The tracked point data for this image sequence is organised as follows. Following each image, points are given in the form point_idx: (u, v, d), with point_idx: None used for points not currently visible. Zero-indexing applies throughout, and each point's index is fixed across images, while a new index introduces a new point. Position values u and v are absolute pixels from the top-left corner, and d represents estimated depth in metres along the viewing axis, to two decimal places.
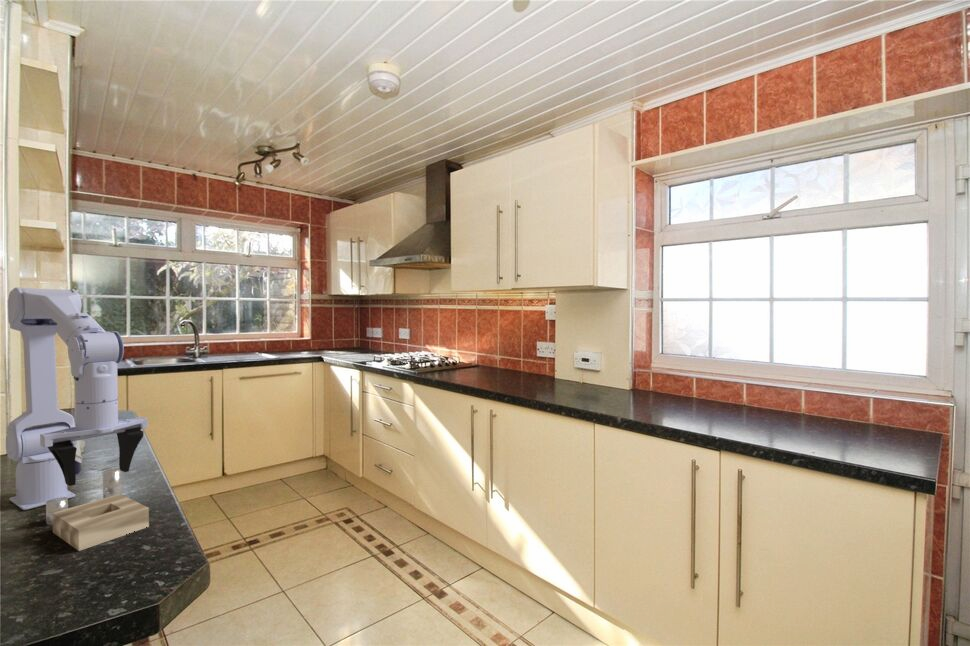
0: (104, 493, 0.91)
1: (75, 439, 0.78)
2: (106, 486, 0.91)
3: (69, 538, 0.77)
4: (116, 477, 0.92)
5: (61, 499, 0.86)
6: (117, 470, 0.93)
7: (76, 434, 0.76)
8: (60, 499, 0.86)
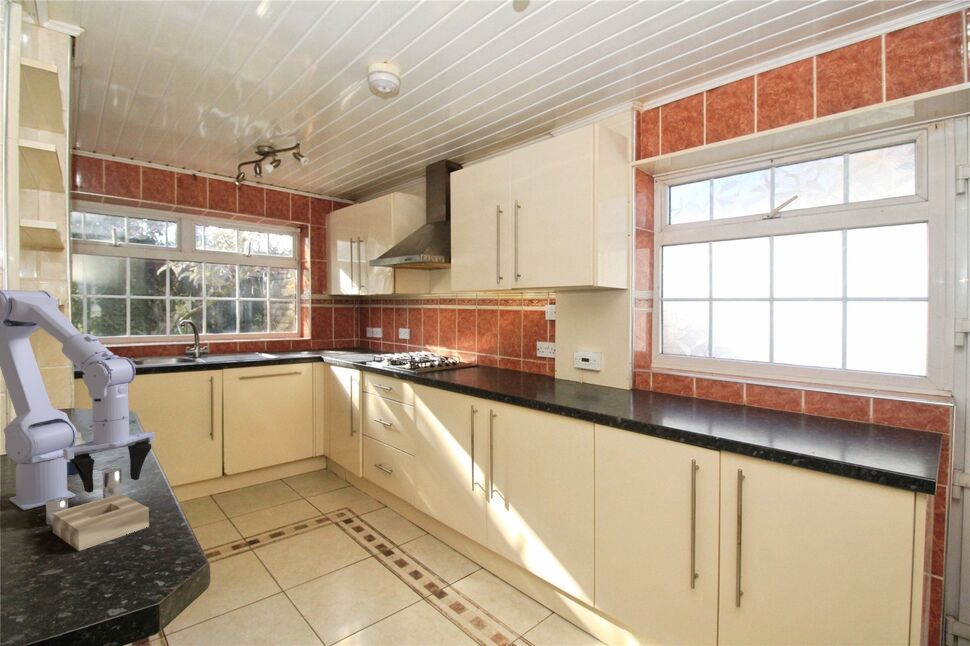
0: (104, 493, 0.91)
1: (92, 452, 0.90)
2: (106, 486, 0.91)
3: (69, 538, 0.77)
4: (116, 477, 0.92)
5: (61, 499, 0.86)
6: (117, 470, 0.93)
7: (94, 448, 0.88)
8: (60, 499, 0.86)
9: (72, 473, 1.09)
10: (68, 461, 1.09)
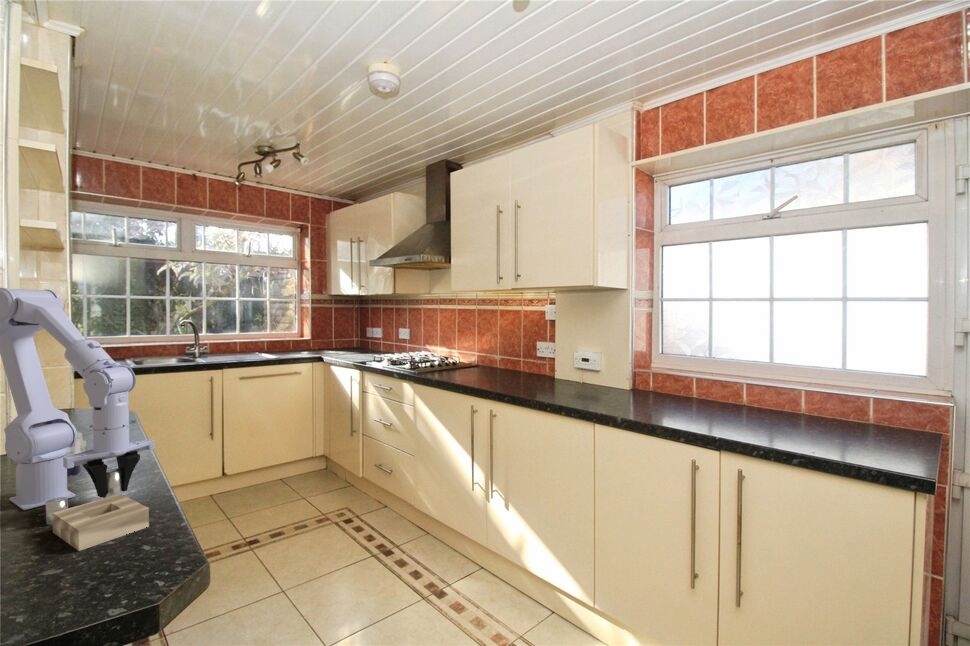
0: None
1: (92, 461, 0.90)
2: (106, 486, 0.91)
3: (69, 538, 0.77)
4: (116, 477, 0.92)
5: (61, 499, 0.86)
6: (117, 470, 0.93)
7: (94, 456, 0.88)
8: (60, 499, 0.86)
9: (72, 474, 1.09)
10: None
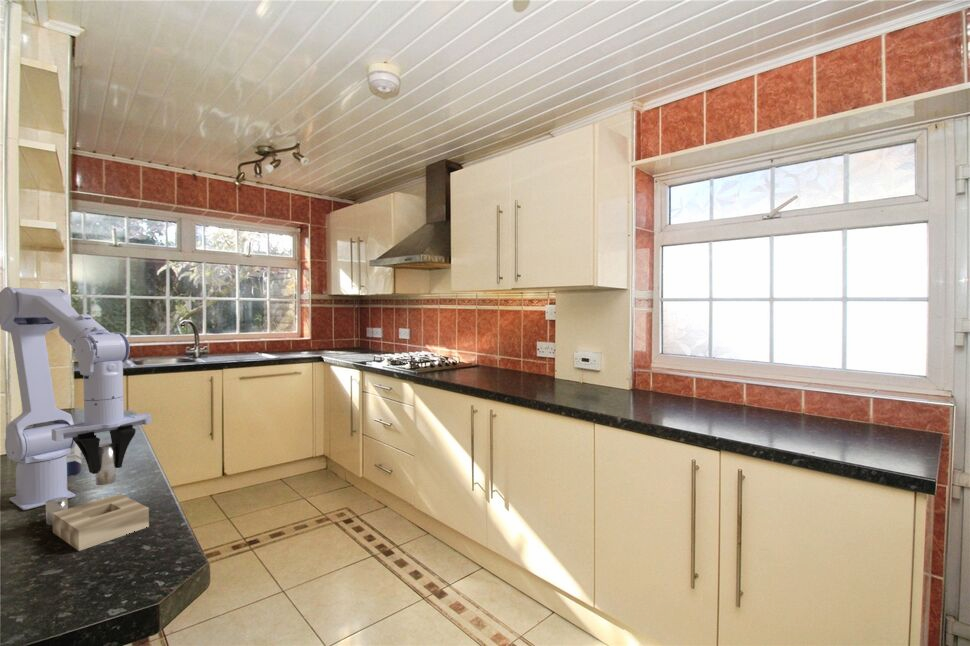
0: None
1: (83, 434, 0.83)
2: (98, 461, 0.84)
3: (69, 538, 0.77)
4: (109, 452, 0.85)
5: (61, 499, 0.86)
6: (110, 445, 0.86)
7: (85, 429, 0.82)
8: (60, 499, 0.86)
9: (73, 474, 1.09)
10: (68, 461, 1.09)
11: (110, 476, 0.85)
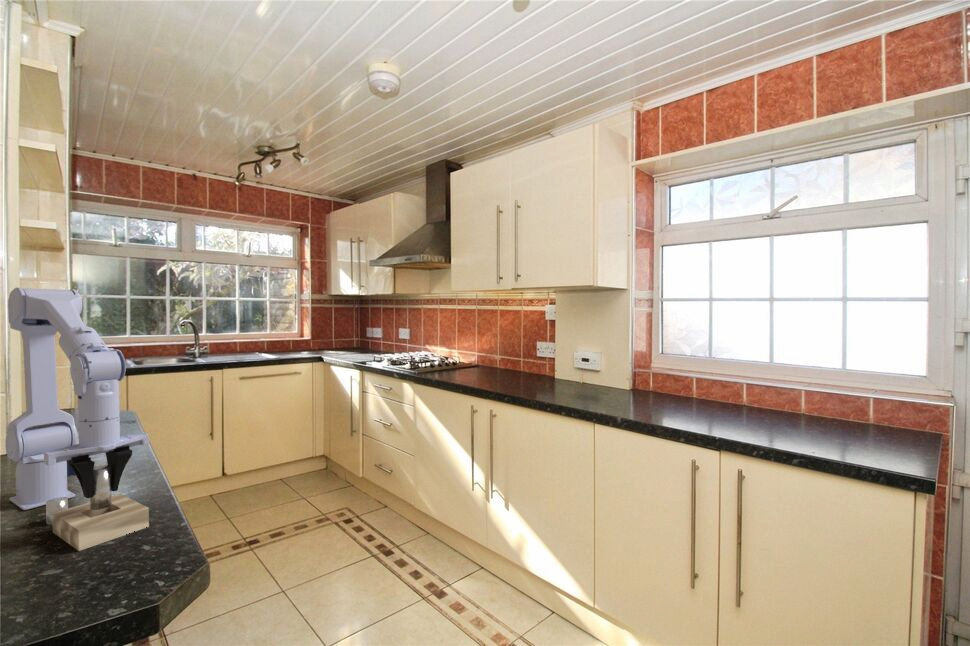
0: None
1: (77, 457, 0.79)
2: (93, 485, 0.81)
3: (69, 538, 0.77)
4: (105, 475, 0.81)
5: (61, 499, 0.86)
6: (106, 467, 0.82)
7: (79, 452, 0.78)
8: (60, 499, 0.86)
9: (72, 474, 1.09)
10: None
11: (105, 500, 0.82)
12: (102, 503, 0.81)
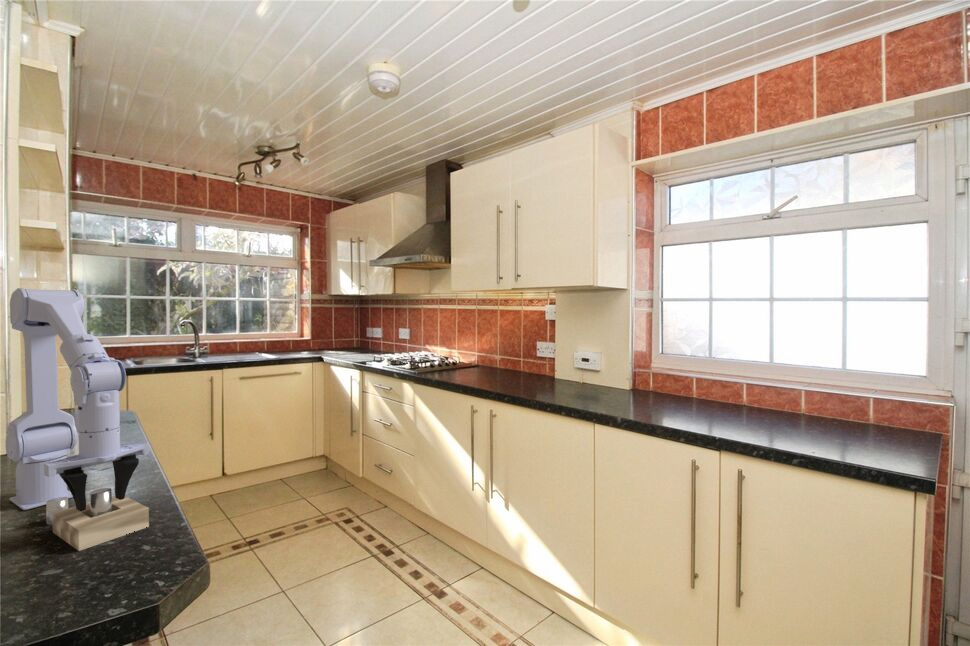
0: (91, 517, 0.81)
1: (78, 468, 0.79)
2: (93, 509, 0.81)
3: (69, 538, 0.77)
4: (105, 499, 0.82)
5: (61, 499, 0.86)
6: (106, 490, 0.82)
7: (79, 463, 0.78)
8: (60, 499, 0.86)
9: None
10: None
11: None
12: None
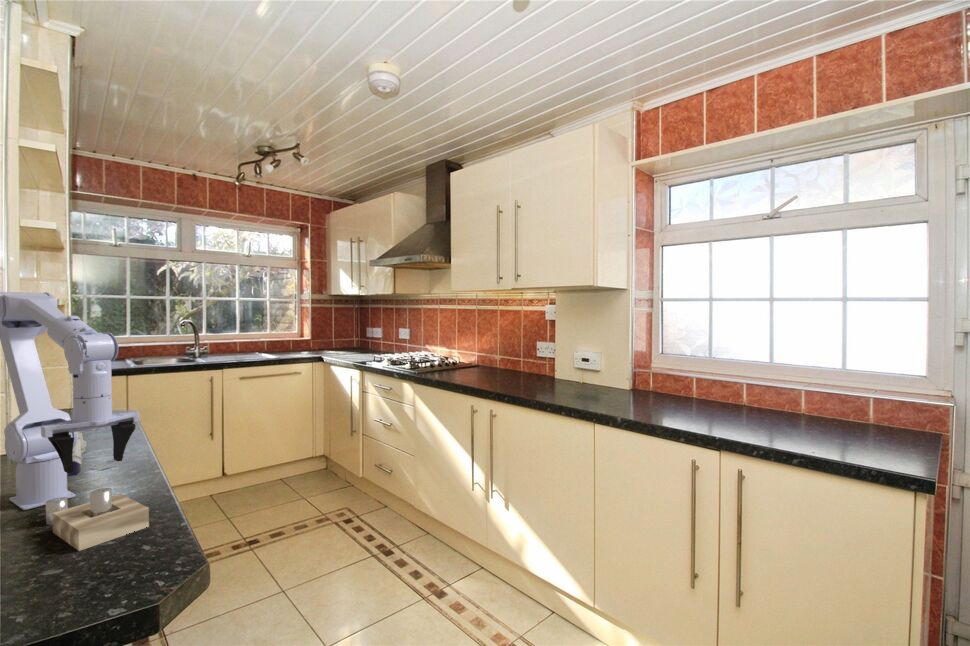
0: (91, 517, 0.81)
1: (72, 431, 0.85)
2: (93, 509, 0.81)
3: (69, 538, 0.77)
4: (105, 499, 0.82)
5: (61, 499, 0.86)
6: (106, 490, 0.82)
7: (73, 426, 0.84)
8: (60, 499, 0.86)
9: (72, 474, 1.09)
10: None
11: None
12: None
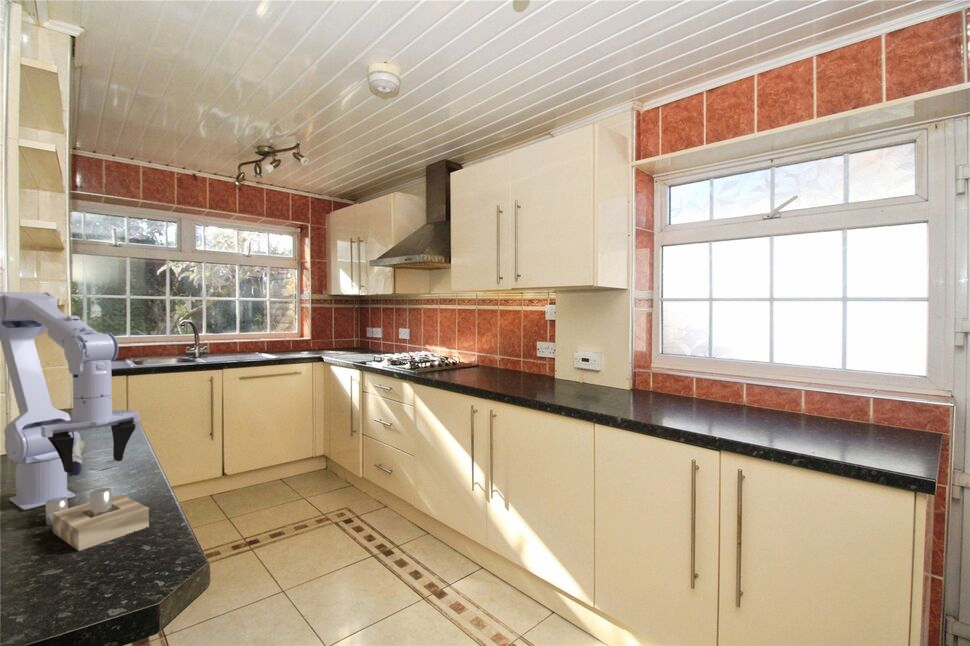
0: (91, 517, 0.81)
1: (72, 431, 0.85)
2: (93, 509, 0.81)
3: (69, 538, 0.77)
4: (105, 499, 0.81)
5: (61, 499, 0.86)
6: (106, 491, 0.82)
7: (73, 426, 0.84)
8: (60, 499, 0.86)
9: (73, 474, 1.09)
10: None
11: None
12: None
